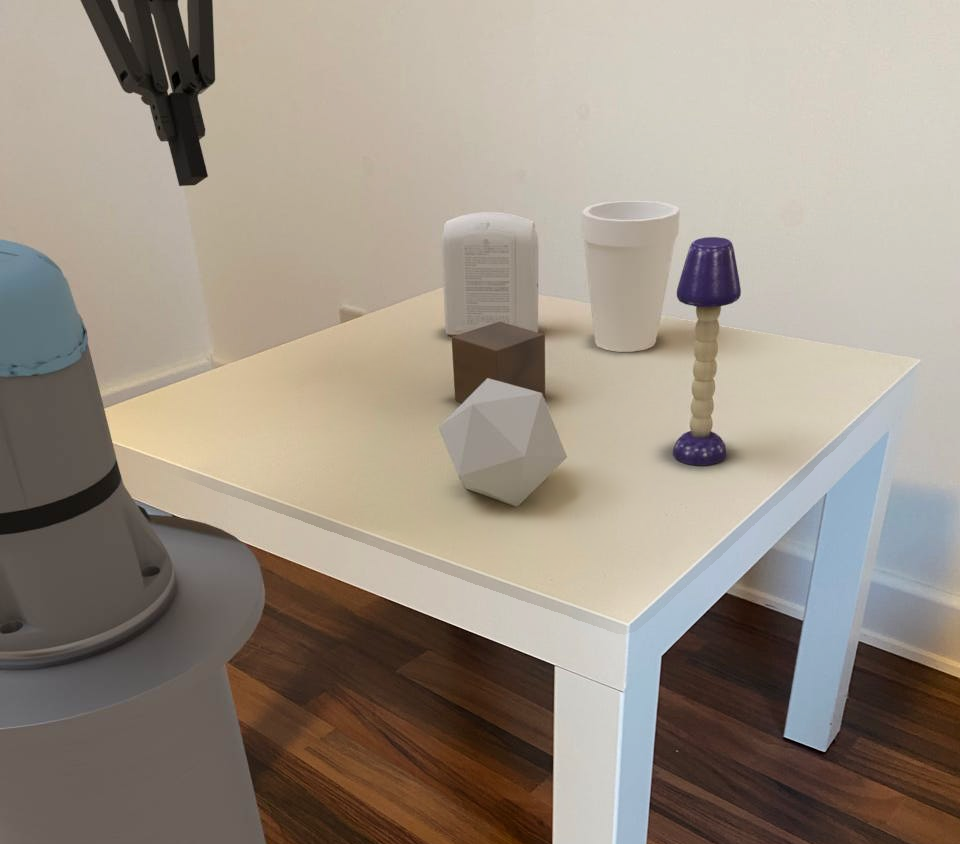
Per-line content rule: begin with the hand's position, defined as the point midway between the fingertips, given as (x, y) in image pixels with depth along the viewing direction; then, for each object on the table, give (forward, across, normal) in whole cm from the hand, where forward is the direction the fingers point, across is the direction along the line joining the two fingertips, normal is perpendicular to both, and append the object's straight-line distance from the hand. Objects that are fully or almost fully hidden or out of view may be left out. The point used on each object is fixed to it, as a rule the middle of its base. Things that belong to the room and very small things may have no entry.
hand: (193, 180), depth 86 cm
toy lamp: (+30, +22, -31) cm, 48 cm away
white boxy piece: (+16, +32, +3) cm, 36 cm away
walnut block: (+23, +20, -11) cm, 32 cm away
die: (+29, +7, -24) cm, 39 cm away
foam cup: (+20, +40, -9) cm, 45 cm away
